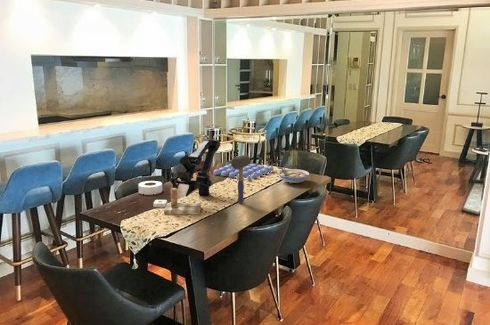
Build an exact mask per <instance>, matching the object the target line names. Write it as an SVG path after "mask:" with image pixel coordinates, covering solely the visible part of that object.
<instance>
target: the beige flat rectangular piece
mask: <svg viewBox="0 0 490 325" xmlns="http://www.w3.org/2000/svg"><path fill="white" fill-rule="evenodd" d="M177 204H178V207H176V208H172V207H171V202H167V205H166V207H164V209H163V215H200V212H201V208H202V203H200V202H199V203H198V202H195V203H194V202H193V203H191V202H185V203H184V202H183V203H178V202H177Z"/></svg>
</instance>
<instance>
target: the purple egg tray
mask: <svg viewBox="0 0 490 325" xmlns="http://www.w3.org/2000/svg"><path fill="white" fill-rule="evenodd" d="M259 170H260V171H259ZM271 171H272V172H273V166H269V165H268V166H265V165H261V164H256V163H250V164H249V165H248V166H246V167H243V178H244V177H246V179H247V181H248V180H250V181H251V180H252V179H253V178H256V179H257V178H258V177H257V176H262V175H263V174H267V173H268V172H271ZM212 172H213V175H214V176H220V175H221V177H223V176H226V177H227V176H228V177H229V178H230V179H234V178H235V177H237V180H239V169H234V168H233V167H232V166H231V163H229V164H228V165H227V164H226V165H224V166H222V167H220V168H219V169H217V168H216V169H214V170H213V171H212ZM254 172H255V173H254ZM228 174H229V175H228ZM268 174H269V173H268ZM268 174H267V175H268ZM235 175H236V176H235ZM249 175H251V176H249ZM263 176H264V175H263ZM263 176H262V177H263Z"/></svg>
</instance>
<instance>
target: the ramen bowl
mask: <svg viewBox="0 0 490 325" xmlns="http://www.w3.org/2000/svg"><path fill="white" fill-rule="evenodd" d="M277 173H278V174H277V175H278V176H279V177H280V179H282V181H284V182H286V183H288V182H289V183H288V184H291V183H297V184H299V183H302V182H304V181H306V180H307V179H308V177H309V176H310V172H309V171H306V170H304V169H297V168H296V169H295V168H287V169H286V168H285V167H281V169H280V170H279V171H278V172H277Z"/></svg>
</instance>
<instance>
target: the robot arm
mask: <svg viewBox="0 0 490 325" xmlns="http://www.w3.org/2000/svg"><path fill="white" fill-rule="evenodd" d="M220 147H221V141H220V140H219V139H212V138H204V139H203V141H202V143H201V144H200V145H199V146H198V148H197V149H196V151H194V152H192V153H191V154H190V155H188V154H185V155H184V156H182V157H181V158H179V164H180V165H181V166H182V168H183V169H185V170H184V171H182V172H181V171H177V172H176V177H170V179H169V182H170V183H171V185H172V188H177V190H178V189H179V186H180V185H184V186H185V185H186V186H188V189H187V190H186V193H185V197H186V198H187V197H188V196H190V194H192V193H193V192H194V191H197V190H198V195H199V197H200V196H203V197H205V196H206V197H208V196H210V187H212V186H213V185H212V184H213V182H212V180H211V176H210V170H211V166H212V163H213V161H214V160H213V159H214V157H215V153H217V151H219V149H220ZM205 153H206V156H205V158H204V162H203V165H202V167H201V168H202V169H201V170H200V171H198V168H197V166H199V165H200V164H201V162H202V161H203V156H204V154H205ZM196 171H198V172H197V174H196V177H195V180H193V179H194V174H195V172H196Z"/></svg>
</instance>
